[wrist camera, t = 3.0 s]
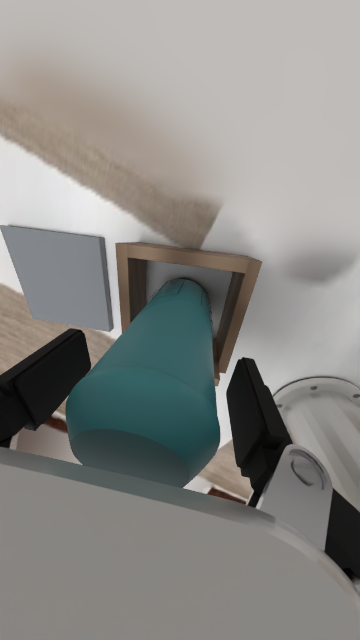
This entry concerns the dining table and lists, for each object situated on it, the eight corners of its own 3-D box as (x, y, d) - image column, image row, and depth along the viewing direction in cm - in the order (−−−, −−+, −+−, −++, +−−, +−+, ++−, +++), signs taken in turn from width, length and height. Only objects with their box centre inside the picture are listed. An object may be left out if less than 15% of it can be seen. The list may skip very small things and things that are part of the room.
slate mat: (103, 237, 18) (98, 237, 17) (113, 328, 24) (109, 331, 23) (8, 225, 19) (-1, 225, 18) (39, 315, 24) (33, 318, 24)
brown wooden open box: (247, 256, 17) (271, 265, 11) (221, 347, 22) (227, 388, 16) (137, 242, 18) (101, 243, 11) (139, 332, 23) (115, 366, 17)
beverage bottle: (161, 269, 19) (-631, 801, 1) (217, 279, 18) (572, 1482, 1) (157, 318, 22) (-56, 663, 4) (205, 327, 21) (203, 755, 4)
